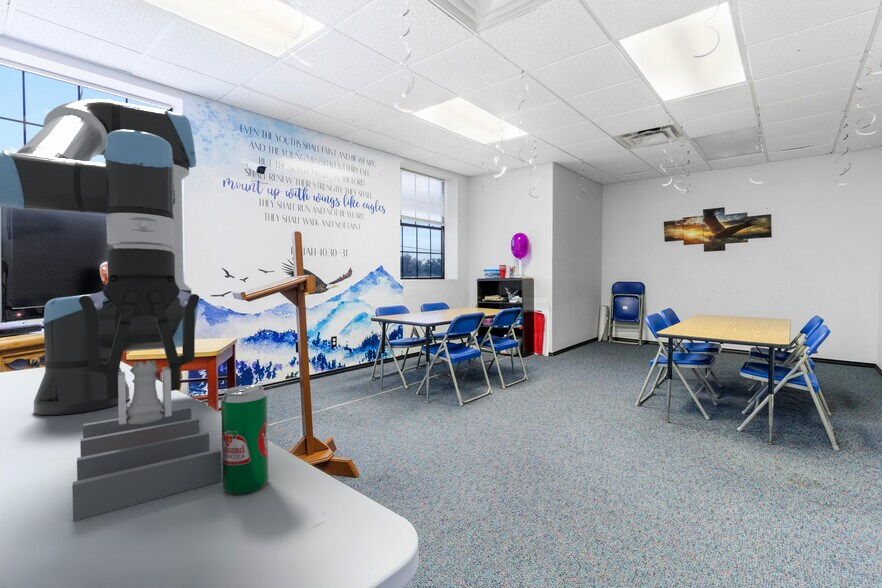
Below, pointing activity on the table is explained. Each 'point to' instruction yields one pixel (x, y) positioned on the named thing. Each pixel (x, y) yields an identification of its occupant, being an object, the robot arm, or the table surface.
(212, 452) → the stepped slat stand
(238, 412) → the soda can
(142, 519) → the table surface
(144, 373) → the rook chess piece
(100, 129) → the robot arm
